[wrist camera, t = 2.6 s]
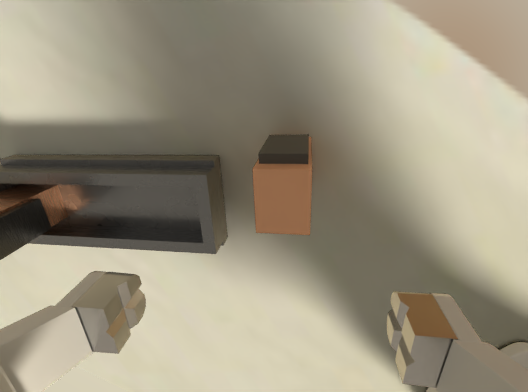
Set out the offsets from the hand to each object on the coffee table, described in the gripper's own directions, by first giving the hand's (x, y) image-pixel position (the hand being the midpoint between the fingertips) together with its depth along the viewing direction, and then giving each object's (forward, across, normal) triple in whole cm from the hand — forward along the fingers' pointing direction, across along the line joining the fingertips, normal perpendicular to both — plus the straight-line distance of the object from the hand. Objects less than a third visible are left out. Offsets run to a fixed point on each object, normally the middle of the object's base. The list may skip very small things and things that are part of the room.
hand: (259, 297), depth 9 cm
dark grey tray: (+16, +16, +4) cm, 22 cm away
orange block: (+15, 0, 0) cm, 16 cm away
